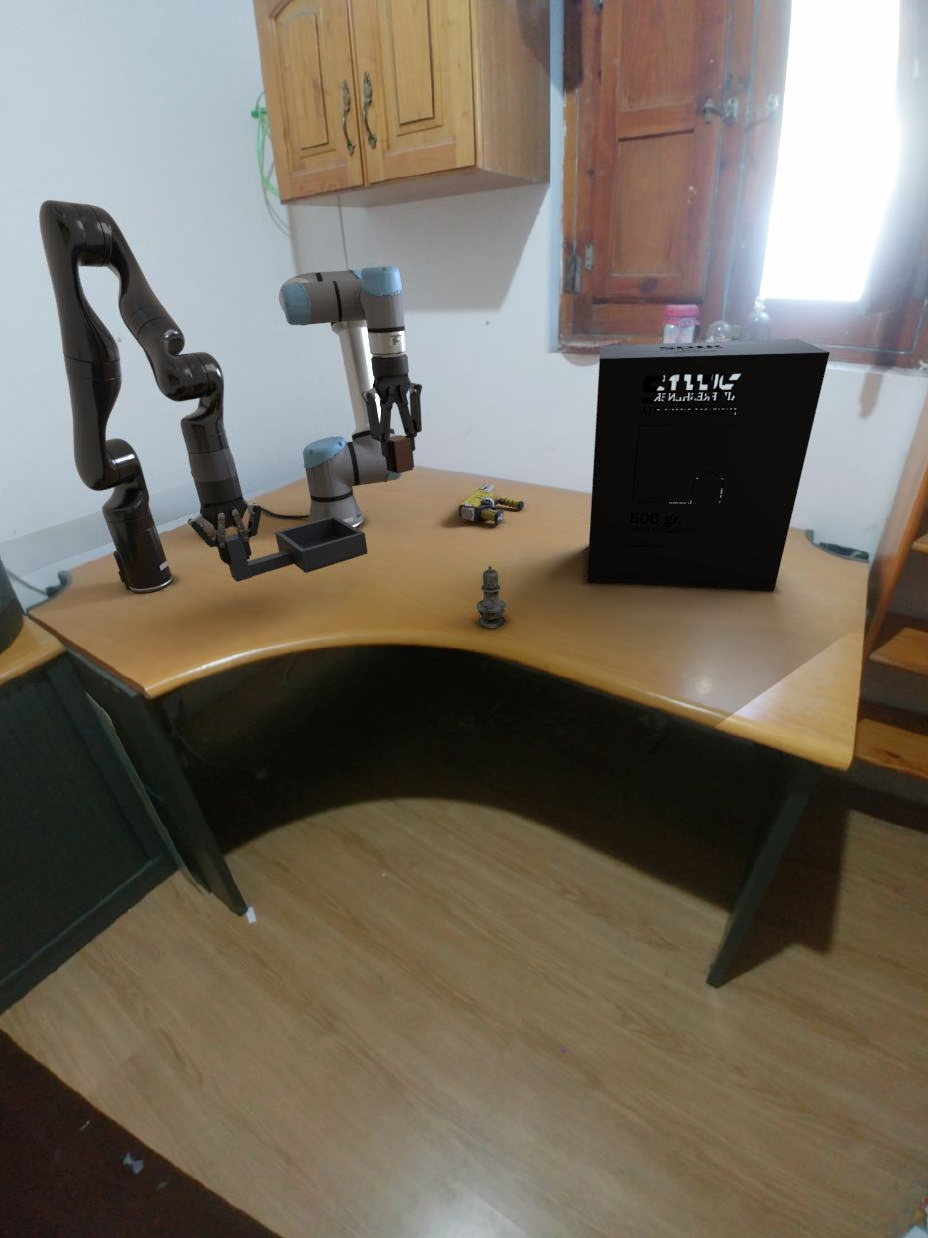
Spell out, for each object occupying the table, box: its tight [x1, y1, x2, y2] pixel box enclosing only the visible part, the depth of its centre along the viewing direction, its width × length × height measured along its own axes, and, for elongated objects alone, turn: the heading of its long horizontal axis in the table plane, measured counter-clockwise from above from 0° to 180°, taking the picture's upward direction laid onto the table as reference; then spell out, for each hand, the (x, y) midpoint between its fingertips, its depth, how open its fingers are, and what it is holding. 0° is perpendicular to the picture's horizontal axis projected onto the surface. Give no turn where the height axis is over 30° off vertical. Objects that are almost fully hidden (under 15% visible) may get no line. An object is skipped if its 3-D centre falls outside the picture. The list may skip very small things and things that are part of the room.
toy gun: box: [457, 482, 525, 525], centre depth 171 cm, size 5×24×15 cm
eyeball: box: [203, 519, 215, 537], centre depth 166 cm, size 6×6×6 cm
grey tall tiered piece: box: [475, 565, 507, 629], centre depth 116 cm, size 6×6×12 cm
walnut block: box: [389, 434, 414, 474], centre depth 132 cm, size 4×4×7 cm
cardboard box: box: [586, 338, 831, 592], centre depth 124 cm, size 38×20×45 cm, turn 78°
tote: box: [225, 516, 369, 583], centre depth 123 cm, size 26×14×8 cm, turn 127°
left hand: (237, 560), depth 117 cm, fingers closed on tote, 3 cm apart
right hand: (400, 468), depth 134 cm, fingers closed on walnut block, 4 cm apart
